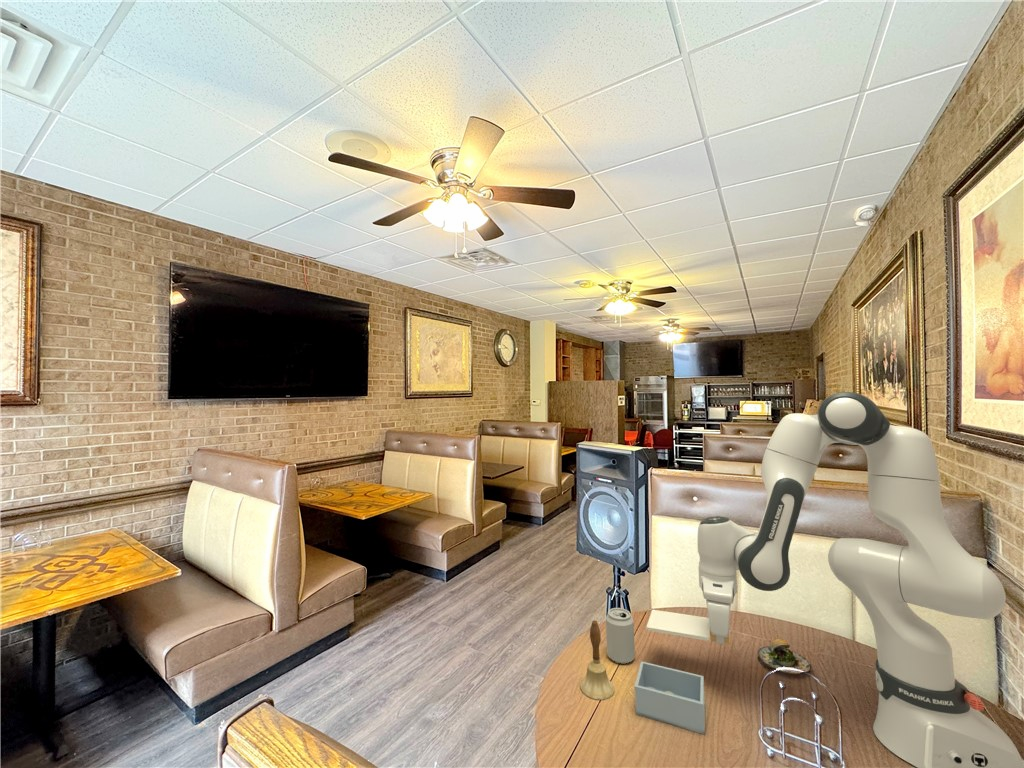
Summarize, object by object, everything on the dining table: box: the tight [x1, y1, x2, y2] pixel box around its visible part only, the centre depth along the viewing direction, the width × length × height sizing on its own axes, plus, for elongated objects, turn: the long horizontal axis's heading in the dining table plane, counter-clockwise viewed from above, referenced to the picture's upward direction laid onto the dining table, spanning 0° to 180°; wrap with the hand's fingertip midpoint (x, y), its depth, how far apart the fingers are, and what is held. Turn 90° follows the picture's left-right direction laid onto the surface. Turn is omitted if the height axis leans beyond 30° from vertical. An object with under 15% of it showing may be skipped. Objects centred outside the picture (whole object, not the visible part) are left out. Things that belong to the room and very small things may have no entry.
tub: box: [634, 660, 706, 735], centre depth 92 cm, size 14×10×6 cm
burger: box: [757, 630, 813, 675], centre depth 107 cm, size 12×12×8 cm
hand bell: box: [579, 620, 615, 701], centre depth 100 cm, size 8×8×16 cm
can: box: [605, 607, 636, 665], centre depth 112 cm, size 8×8×12 cm
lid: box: [645, 609, 730, 645], centre depth 106 cm, size 19×11×2 cm, turn 63°
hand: (720, 637), depth 103 cm, fingers closed on lid, 3 cm apart
